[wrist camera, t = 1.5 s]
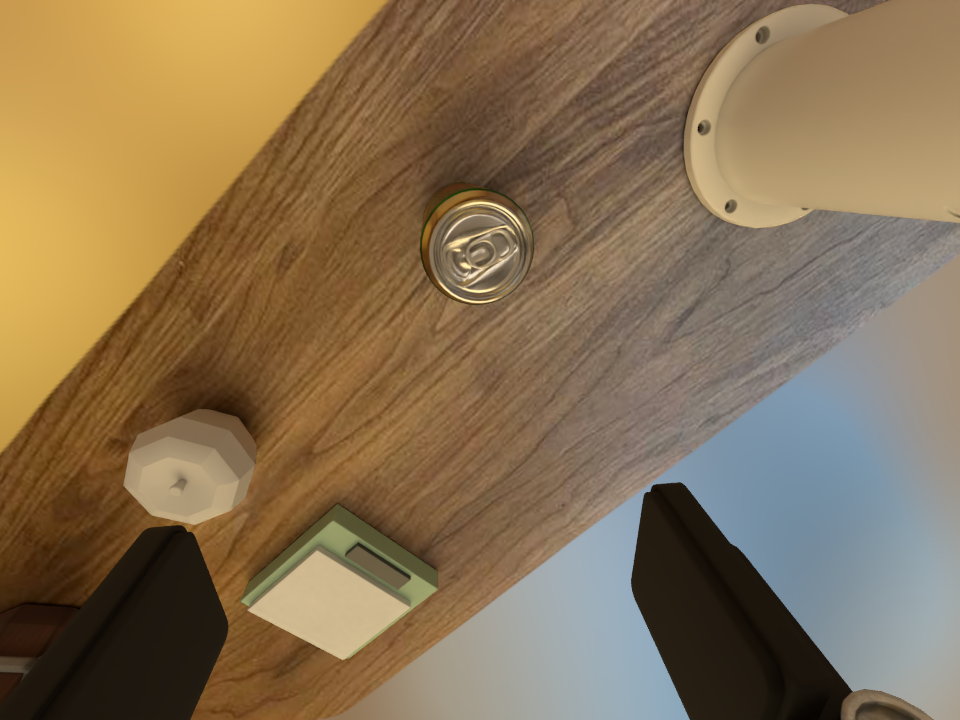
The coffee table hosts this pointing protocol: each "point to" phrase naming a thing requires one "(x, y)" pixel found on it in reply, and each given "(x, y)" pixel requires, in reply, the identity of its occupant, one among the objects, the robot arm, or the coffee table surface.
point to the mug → (27, 640)
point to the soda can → (475, 243)
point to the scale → (340, 584)
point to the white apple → (192, 466)
